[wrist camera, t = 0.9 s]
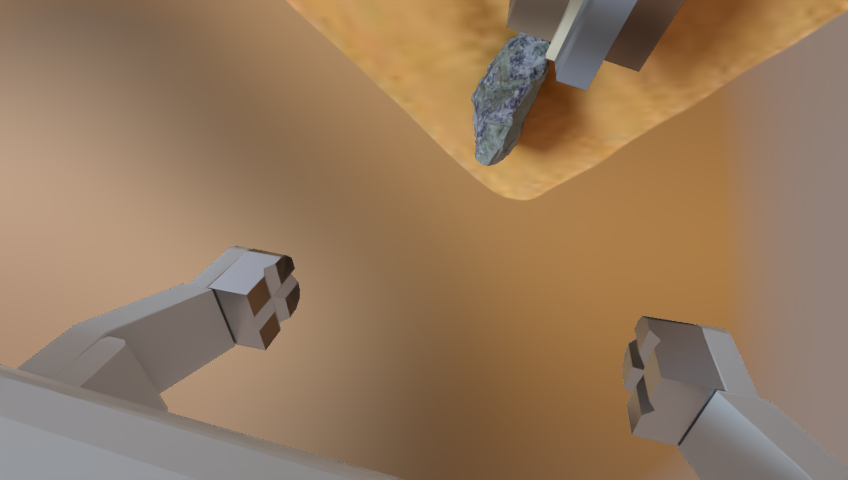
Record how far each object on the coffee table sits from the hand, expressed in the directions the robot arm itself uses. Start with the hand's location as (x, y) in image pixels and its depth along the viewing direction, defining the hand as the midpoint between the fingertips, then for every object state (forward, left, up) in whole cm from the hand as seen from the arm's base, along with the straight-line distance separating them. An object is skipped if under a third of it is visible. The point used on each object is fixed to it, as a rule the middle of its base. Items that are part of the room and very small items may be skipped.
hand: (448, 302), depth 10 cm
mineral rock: (+12, +5, -42) cm, 44 cm away
